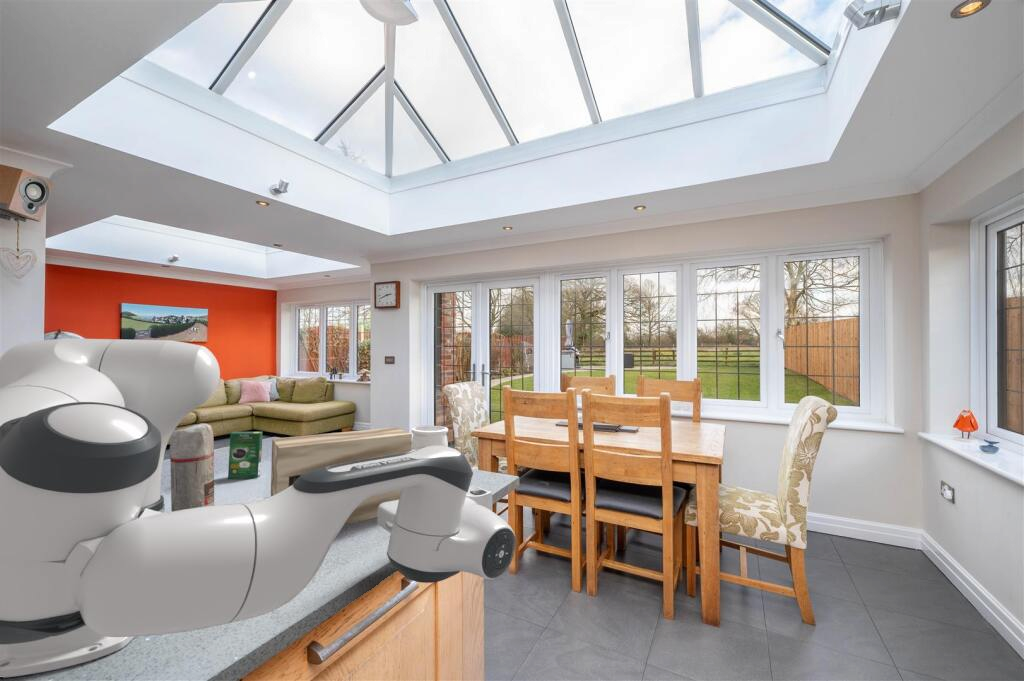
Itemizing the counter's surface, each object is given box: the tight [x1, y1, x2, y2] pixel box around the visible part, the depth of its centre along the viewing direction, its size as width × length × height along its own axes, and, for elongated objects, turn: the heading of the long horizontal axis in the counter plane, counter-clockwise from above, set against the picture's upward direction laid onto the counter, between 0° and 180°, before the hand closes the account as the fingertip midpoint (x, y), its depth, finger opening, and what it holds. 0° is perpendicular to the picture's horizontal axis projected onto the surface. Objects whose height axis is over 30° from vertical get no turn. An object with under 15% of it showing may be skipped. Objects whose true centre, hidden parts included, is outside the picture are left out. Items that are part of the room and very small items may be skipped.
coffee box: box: [227, 431, 263, 479], centre depth 125 cm, size 8×3×13 cm, turn 103°
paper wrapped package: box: [168, 423, 215, 512], centre depth 98 cm, size 8×8×20 cm
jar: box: [411, 425, 449, 451], centre depth 126 cm, size 11×10×15 cm
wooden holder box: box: [270, 426, 413, 525], centre depth 98 cm, size 10×28×18 cm, turn 125°
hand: (418, 495), depth 87 cm, fingers closed
